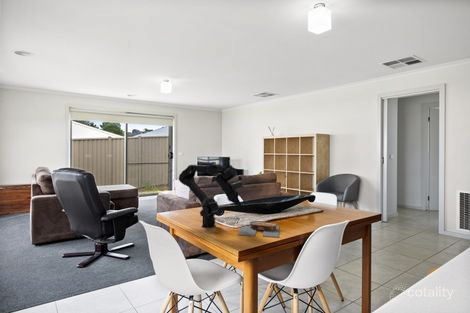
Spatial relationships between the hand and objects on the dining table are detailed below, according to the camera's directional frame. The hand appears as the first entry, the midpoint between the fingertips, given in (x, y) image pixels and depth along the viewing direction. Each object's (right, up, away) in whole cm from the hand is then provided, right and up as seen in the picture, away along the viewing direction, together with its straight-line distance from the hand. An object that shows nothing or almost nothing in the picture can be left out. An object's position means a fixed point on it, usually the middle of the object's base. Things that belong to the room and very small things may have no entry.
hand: (241, 206), depth 155 cm
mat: (+10, -13, -2) cm, 16 cm away
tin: (+10, -11, -3) cm, 16 cm away
